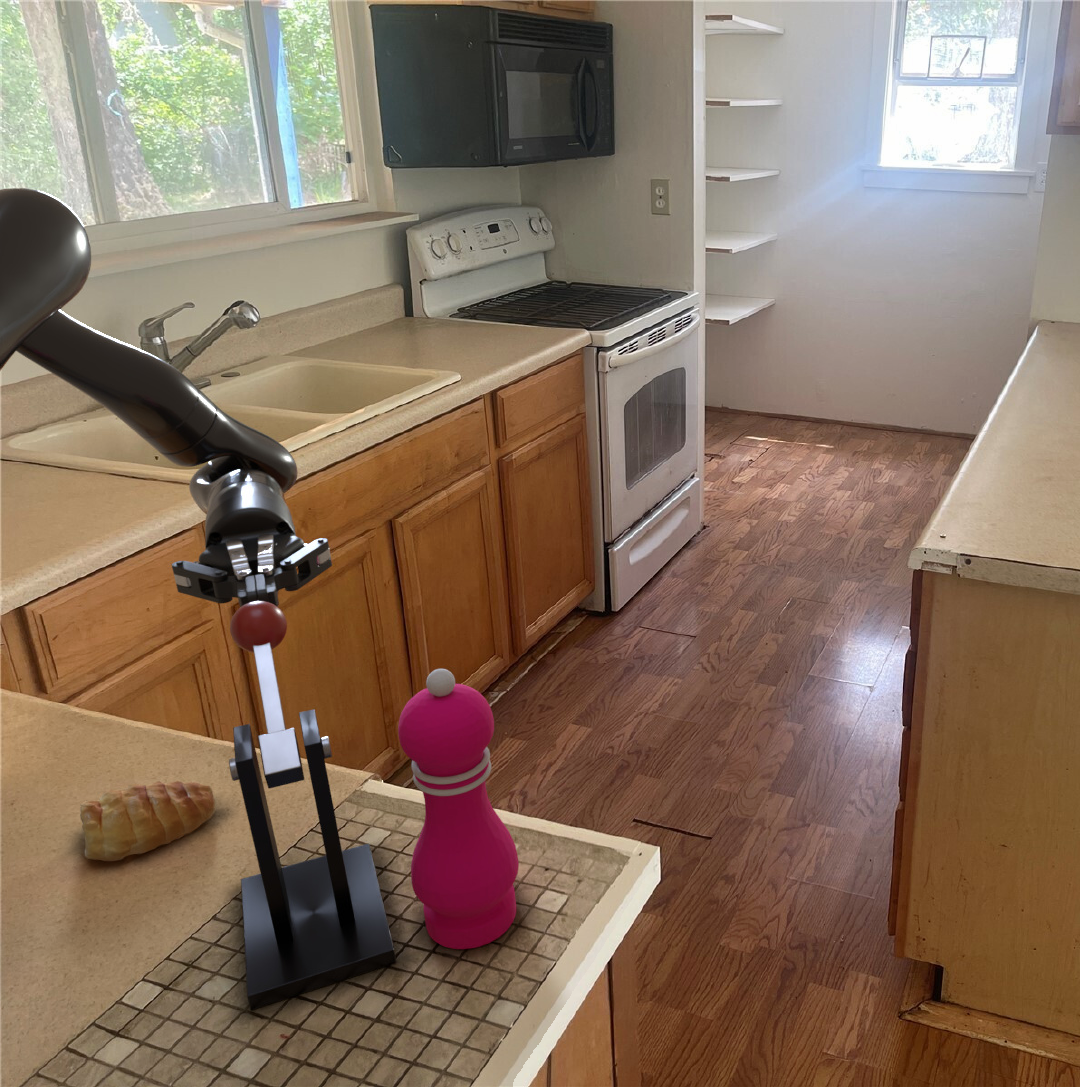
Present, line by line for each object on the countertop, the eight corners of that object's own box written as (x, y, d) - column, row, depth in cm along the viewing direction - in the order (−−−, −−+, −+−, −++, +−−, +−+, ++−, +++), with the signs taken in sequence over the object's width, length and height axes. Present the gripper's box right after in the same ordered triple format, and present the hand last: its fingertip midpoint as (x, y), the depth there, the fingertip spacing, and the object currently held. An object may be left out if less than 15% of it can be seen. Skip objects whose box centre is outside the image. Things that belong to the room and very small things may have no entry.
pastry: (209, 788, 86) (200, 750, 85) (224, 831, 81) (215, 792, 80) (82, 829, 81) (69, 790, 80) (89, 877, 76) (76, 836, 75)
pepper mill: (405, 956, 69) (363, 700, 61) (434, 882, 75) (399, 643, 68) (512, 956, 69) (483, 700, 61) (532, 882, 75) (507, 643, 68)
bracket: (243, 891, 75) (198, 706, 68) (371, 855, 78) (339, 676, 72) (250, 1010, 65) (198, 806, 58) (396, 963, 68) (362, 765, 62)
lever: (230, 622, 72) (223, 596, 69) (285, 612, 74) (279, 586, 71) (258, 795, 66) (250, 774, 63) (316, 780, 67) (312, 760, 65)
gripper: (161, 504, 90) (154, 577, 76) (319, 482, 96) (340, 546, 81) (179, 581, 93) (176, 665, 79) (331, 556, 99) (354, 630, 84)
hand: (259, 605), depth 80 cm, fingers closed
